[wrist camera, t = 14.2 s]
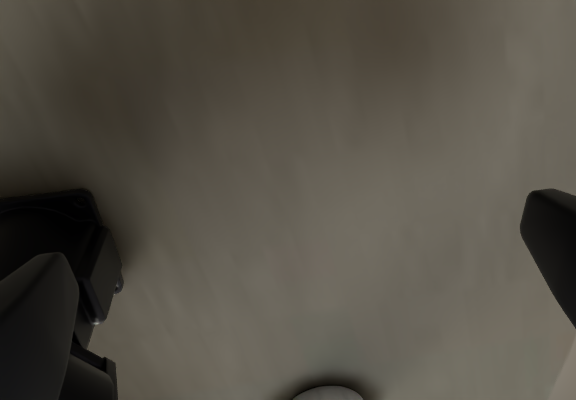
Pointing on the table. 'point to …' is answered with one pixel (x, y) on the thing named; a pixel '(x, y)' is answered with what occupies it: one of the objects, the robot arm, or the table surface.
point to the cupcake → (329, 394)
